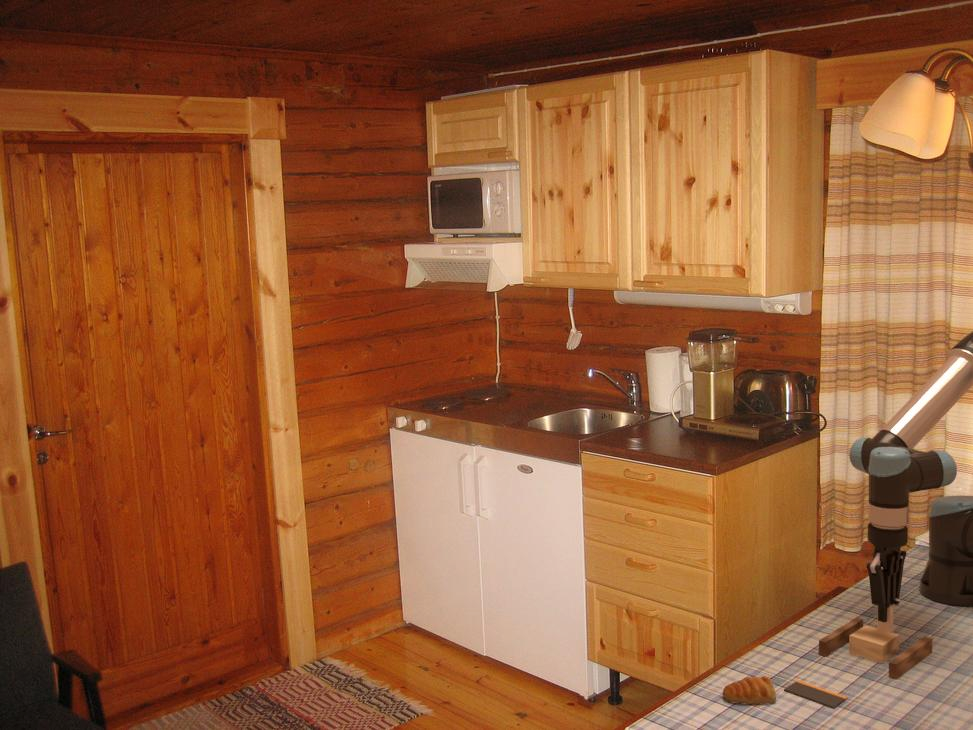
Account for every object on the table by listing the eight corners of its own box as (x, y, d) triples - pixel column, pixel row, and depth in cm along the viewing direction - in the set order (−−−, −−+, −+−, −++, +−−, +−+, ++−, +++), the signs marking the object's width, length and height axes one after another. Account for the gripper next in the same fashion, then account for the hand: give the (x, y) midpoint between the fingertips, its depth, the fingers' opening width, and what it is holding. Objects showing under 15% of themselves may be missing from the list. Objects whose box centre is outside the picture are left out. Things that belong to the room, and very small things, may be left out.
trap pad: (797, 681, 186) (797, 680, 186) (847, 698, 179) (847, 697, 179) (784, 690, 183) (784, 689, 183) (833, 708, 175) (833, 706, 175)
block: (865, 643, 202) (865, 625, 202) (898, 653, 197) (898, 634, 196) (849, 654, 197) (849, 635, 197) (882, 664, 192) (882, 645, 192)
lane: (856, 630, 208) (856, 617, 208) (931, 652, 196) (932, 638, 196) (818, 654, 197) (818, 640, 197) (896, 679, 186) (896, 664, 185)
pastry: (730, 709, 177) (730, 689, 177) (717, 692, 184) (717, 673, 183) (779, 704, 178) (779, 685, 178) (764, 688, 185) (764, 669, 184)
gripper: (884, 513, 203) (881, 620, 207) (854, 527, 195) (852, 639, 198) (920, 520, 198) (916, 630, 201) (891, 535, 189) (888, 650, 192)
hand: (884, 634), depth 199 cm, fingers closed
